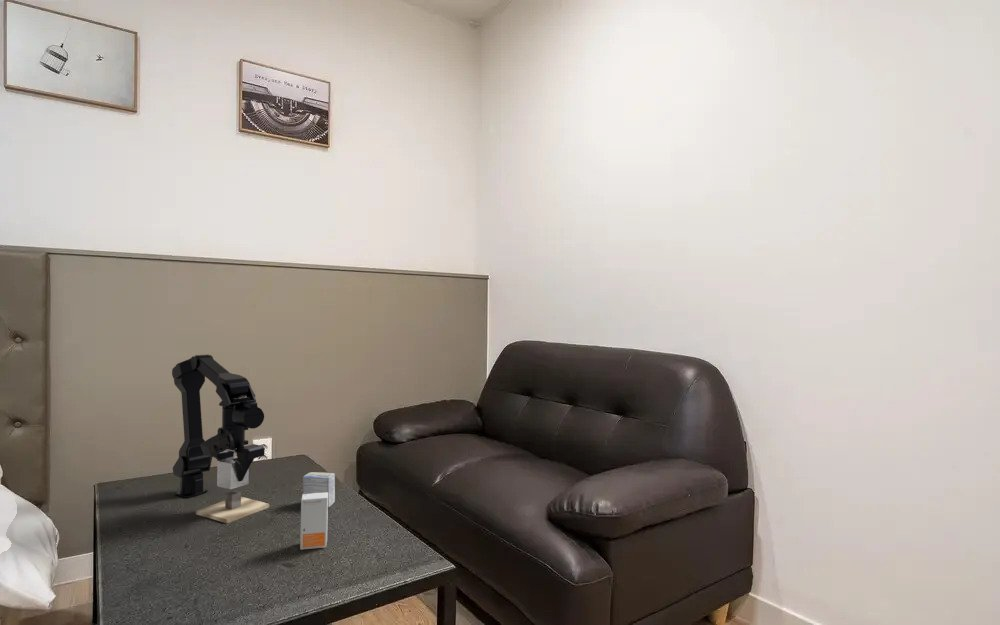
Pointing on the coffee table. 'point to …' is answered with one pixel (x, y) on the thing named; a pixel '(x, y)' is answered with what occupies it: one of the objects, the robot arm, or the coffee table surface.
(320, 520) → the skincare box
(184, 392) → the robot arm
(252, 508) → the post board
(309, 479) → the medicine box
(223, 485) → the grey block
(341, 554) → the coffee table surface
